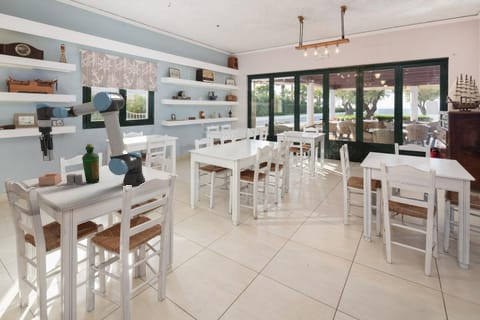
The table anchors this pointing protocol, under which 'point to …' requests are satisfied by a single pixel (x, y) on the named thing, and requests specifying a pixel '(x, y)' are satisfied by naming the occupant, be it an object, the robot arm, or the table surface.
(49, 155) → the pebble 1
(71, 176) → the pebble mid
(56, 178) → the terracotta bin
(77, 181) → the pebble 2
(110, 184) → the table surface
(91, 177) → the bottle
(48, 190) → the table surface
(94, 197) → the table surface
